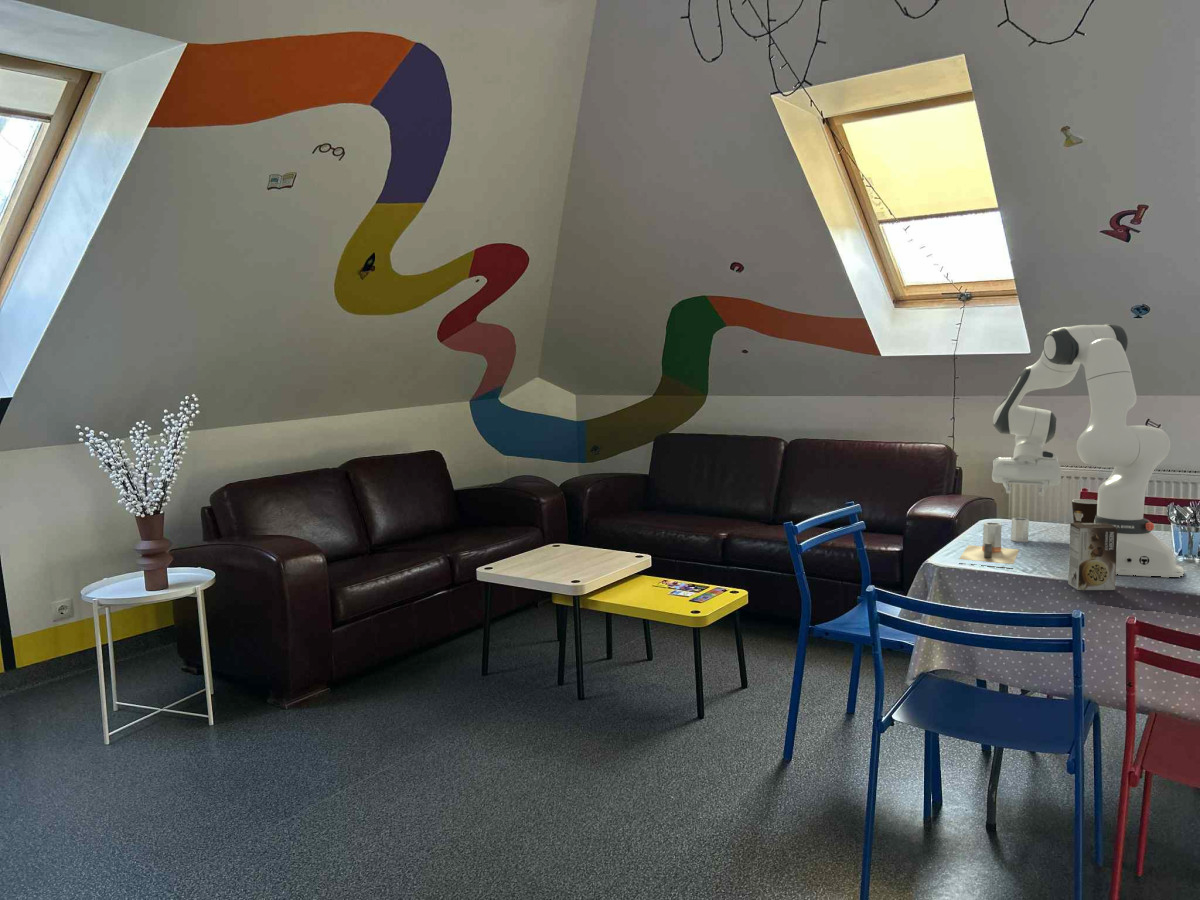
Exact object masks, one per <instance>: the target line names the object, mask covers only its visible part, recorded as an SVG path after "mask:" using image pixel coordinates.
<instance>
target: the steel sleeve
mask: <svg viewBox="0 0 1200 900" xmlns="http://www.w3.org/2000/svg"><path fill="white" fill-rule="evenodd" d="M1029 524H1030V519H1028V518H1023V517H1015V518H1014V517H1013V518H1012V519H1011V529H1010V531H1011V533H1010V541H1013V542H1016V543H1028V542H1029V541H1030V540H1029V530H1030V529H1029V528H1030V525H1029Z"/></svg>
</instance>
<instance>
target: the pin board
mask: <svg viewBox="0 0 1200 900" xmlns="http://www.w3.org/2000/svg"><path fill="white" fill-rule="evenodd" d="M1019 552H1020V549H1019V548H1018V549H1017V548H1006V547H1001V552H996V553H993V552H992V544H991V543H984V551H982V545H972V544H970V545H969V544H968V545H967V547H966V548H965V549H964V551H963V552H962V554H961V555H960V557H958V559H959V560H965V561H976V562H985V563H986V562H987V563H988V562H989V563H995V564H996V563H997V564H1009V565H1010V564H1012V565H1014V564H1015V560H1016V559H1017V557H1018V554H1019ZM963 564H965V563H962V562H959V563H958V565H963ZM970 564H971V565H970V566H974V565H976V564H975V563H974V564H973V563H970ZM980 565H981V566H980V567H984V566H987V567H986V568H995V567H996V569H997V568H998V569H1005V568H1006V570H1007V569H1008V570H1014V567H1004V566H993V565H983V564H980Z"/></svg>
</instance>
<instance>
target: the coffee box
mask: <svg viewBox="0 0 1200 900" xmlns="http://www.w3.org/2000/svg"><path fill="white" fill-rule="evenodd" d="M1069 528H1070V529H1069V552H1068V553H1069V555H1068V557H1069V558H1068V582H1067V583H1068V585H1070V586H1071V587H1072V588H1073V589H1075V590H1078V591H1116V579H1117V578H1116V577H1117V574H1116V549H1117V527H1114V526H1113V525H1111V524H1108V523H1074V522H1070V525H1069Z"/></svg>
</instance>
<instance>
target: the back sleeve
mask: <svg viewBox="0 0 1200 900" xmlns="http://www.w3.org/2000/svg"><path fill="white" fill-rule="evenodd" d="M982 532H983V534H982V545H981V546H982V551H984V543H991V544H992V552H993V553H996V552H1001V548H1002V523H1000V522H992V521H991V522H990V521H987V522H983V531H982Z"/></svg>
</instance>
